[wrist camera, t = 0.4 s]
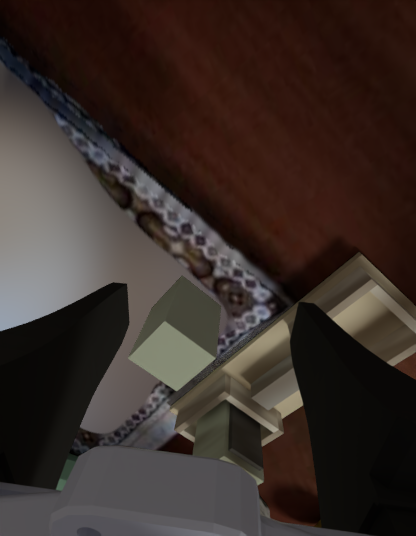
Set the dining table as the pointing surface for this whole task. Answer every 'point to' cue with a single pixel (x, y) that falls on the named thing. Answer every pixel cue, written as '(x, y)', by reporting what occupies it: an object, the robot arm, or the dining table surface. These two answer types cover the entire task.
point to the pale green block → (178, 335)
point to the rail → (279, 338)
